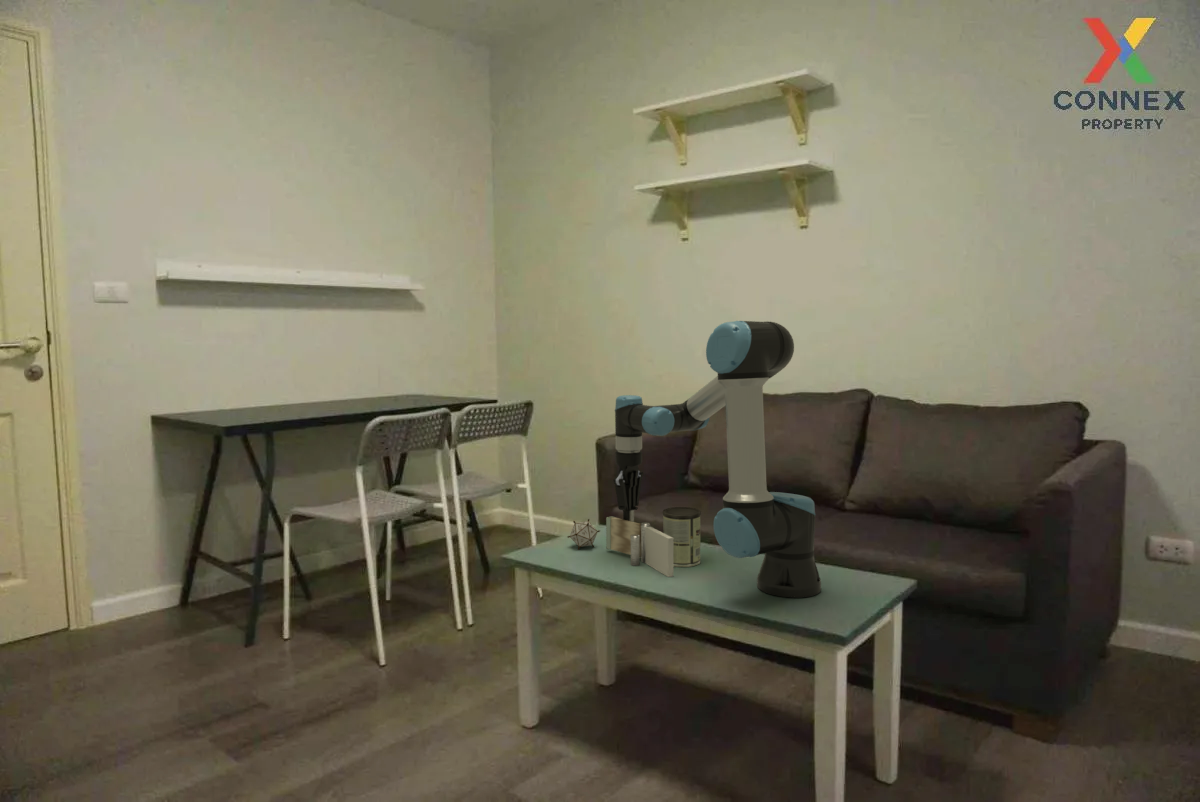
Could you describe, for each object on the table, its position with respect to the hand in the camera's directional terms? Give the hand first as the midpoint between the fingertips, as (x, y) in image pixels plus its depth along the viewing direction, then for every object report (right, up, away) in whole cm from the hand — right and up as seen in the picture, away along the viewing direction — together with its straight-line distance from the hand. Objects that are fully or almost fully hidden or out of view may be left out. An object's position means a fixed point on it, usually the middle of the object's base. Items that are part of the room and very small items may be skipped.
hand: (628, 532), depth 219 cm
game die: (-13, -6, +6) cm, 15 cm away
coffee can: (+14, -7, -8) cm, 18 cm away
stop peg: (+1, -7, -11) cm, 13 cm away
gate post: (+4, -7, -8) cm, 11 cm away
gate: (-1, -5, -3) cm, 6 cm away
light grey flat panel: (+7, -7, -16) cm, 19 cm away
